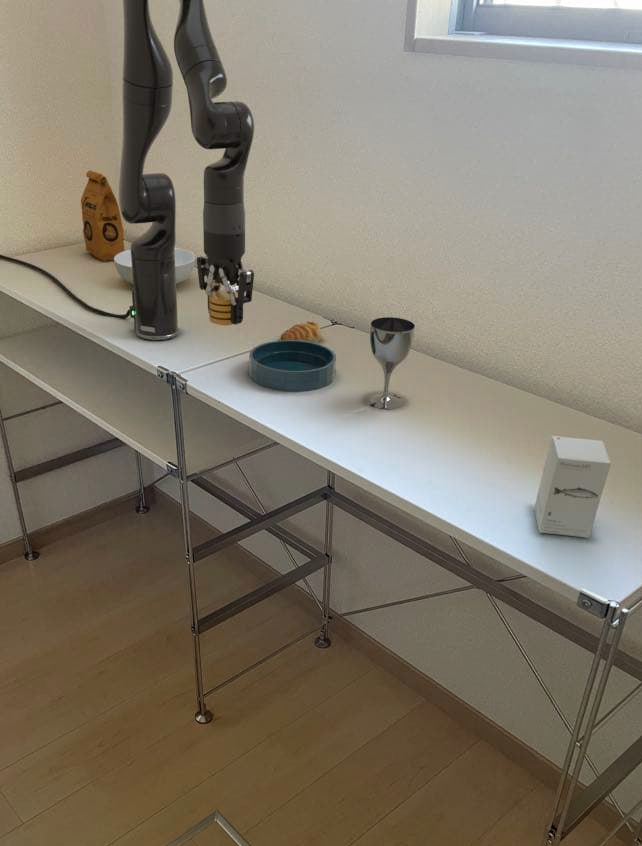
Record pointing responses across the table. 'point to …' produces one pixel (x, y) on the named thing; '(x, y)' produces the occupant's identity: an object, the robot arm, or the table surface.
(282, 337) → the pastry
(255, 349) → the bowl
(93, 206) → the coffee package
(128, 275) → the serving bowl
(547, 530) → the white packaging box
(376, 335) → the wine glass
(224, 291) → the tan ridged cylinder
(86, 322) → the table surface
